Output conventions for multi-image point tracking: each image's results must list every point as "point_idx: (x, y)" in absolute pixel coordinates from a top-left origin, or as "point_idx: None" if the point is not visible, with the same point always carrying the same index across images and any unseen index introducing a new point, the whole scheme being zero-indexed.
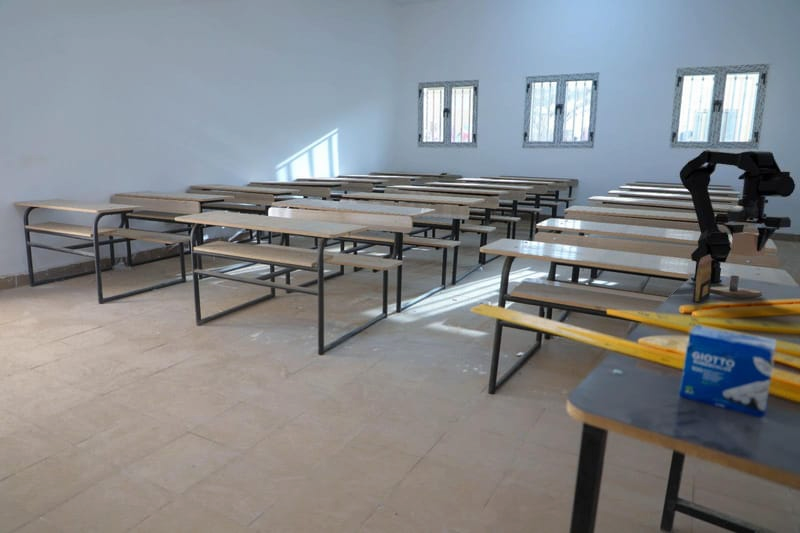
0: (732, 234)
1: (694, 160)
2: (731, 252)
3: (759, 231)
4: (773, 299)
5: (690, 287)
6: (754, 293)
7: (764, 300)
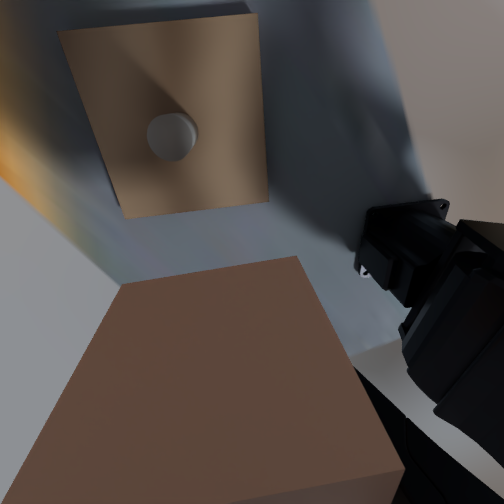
0: (429, 457)
1: None
2: (292, 260)
3: None
4: (55, 197)
5: (349, 25)
6: (109, 172)
7: (28, 138)
